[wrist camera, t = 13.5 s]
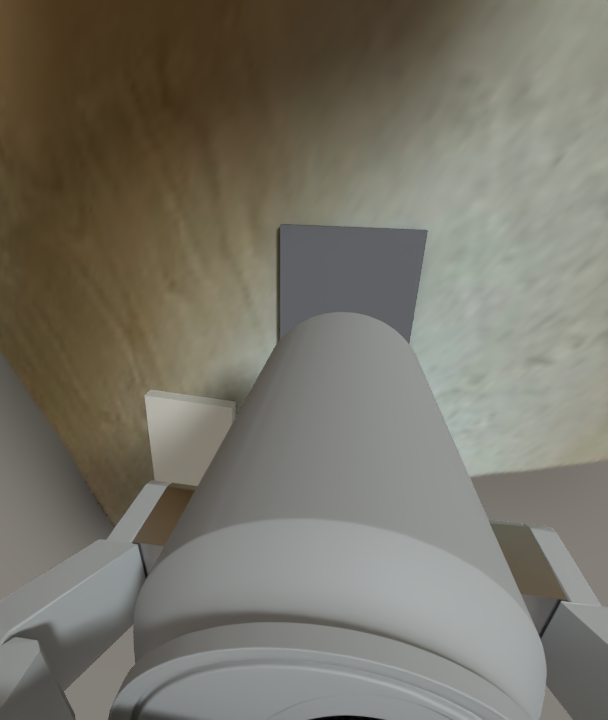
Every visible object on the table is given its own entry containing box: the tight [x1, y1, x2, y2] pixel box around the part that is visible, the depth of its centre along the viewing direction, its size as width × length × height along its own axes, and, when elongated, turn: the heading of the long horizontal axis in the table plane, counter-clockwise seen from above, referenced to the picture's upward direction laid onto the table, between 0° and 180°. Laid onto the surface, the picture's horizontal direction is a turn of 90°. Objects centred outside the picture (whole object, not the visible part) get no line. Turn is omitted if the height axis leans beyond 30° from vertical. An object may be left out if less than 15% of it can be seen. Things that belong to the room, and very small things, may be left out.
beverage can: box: [108, 312, 547, 720], centre depth 10 cm, size 6×6×12 cm
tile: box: [144, 390, 236, 486], centre depth 34 cm, size 2×8×10 cm
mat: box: [280, 224, 428, 344], centre depth 27 cm, size 10×10×1 cm
